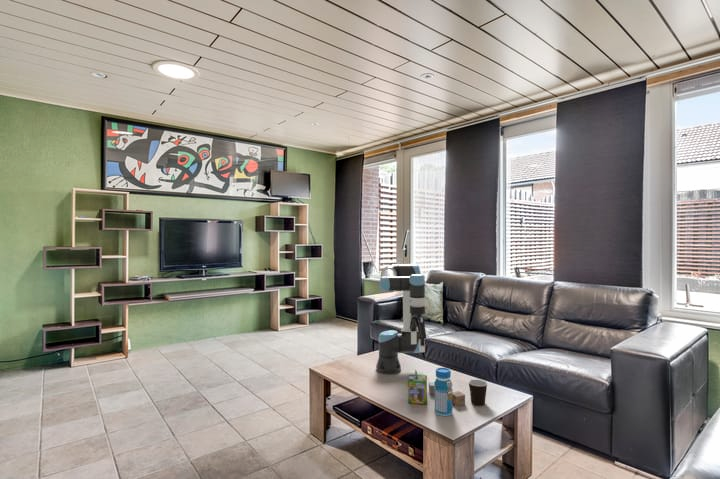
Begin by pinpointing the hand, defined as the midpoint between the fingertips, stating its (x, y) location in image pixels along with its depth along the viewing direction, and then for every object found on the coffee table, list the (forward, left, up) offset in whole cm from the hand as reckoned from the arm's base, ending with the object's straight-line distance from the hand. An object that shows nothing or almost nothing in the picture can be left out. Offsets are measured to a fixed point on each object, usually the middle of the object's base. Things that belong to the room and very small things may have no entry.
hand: (417, 348), depth 193 cm
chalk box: (0, 0, -27) cm, 27 cm away
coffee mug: (+7, +29, -26) cm, 40 cm away
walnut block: (+7, +18, -26) cm, 33 cm away
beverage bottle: (+15, +8, -26) cm, 31 cm away
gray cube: (-7, +11, -26) cm, 29 cm away
